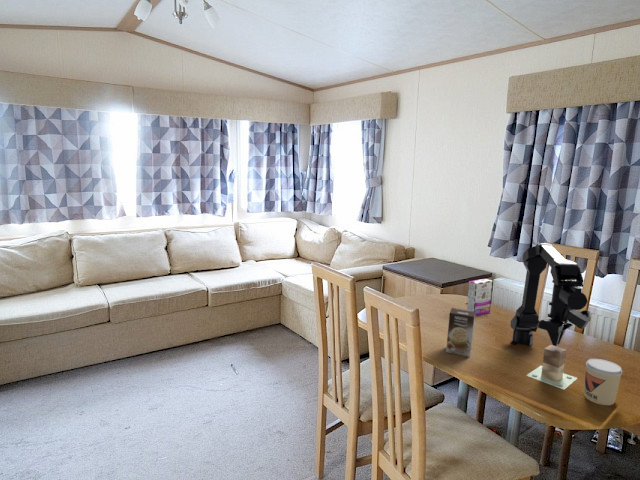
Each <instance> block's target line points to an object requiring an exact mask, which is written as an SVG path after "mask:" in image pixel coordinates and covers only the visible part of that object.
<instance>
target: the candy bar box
mask: <svg viewBox="0 0 640 480" xmlns="http://www.w3.org/2000/svg"><path fill="white" fill-rule="evenodd" d="M467 290H468V291H467V304H466V306H467V307H466V310H467V311H472V312H475V317H477V316H482V315H487V314H490V313H491V305H492V304H491V303H492V295H493V294H492V293H493V280H492V279H488V278H482V279H481V278H480V279H475V280H469V281H468V289H467Z"/></svg>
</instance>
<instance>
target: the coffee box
mask: <svg viewBox="0 0 640 480" xmlns="http://www.w3.org/2000/svg"><path fill="white" fill-rule="evenodd" d="M475 321H476V316H475V312H472V311H467V309H466V310H465V309H460V308H454V307H451V309H450V311H449V318H448V328H447V337H446V338H447V339H446V349H445V353H450V354H454V355H457V356H458V355H459V356H463V357H468V358H470V357H471V355H472V354H471V353H472V349H473V341H474V330H475V329H474V328H475Z"/></svg>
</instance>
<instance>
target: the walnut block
mask: <svg viewBox="0 0 640 480" xmlns="http://www.w3.org/2000/svg"><path fill="white" fill-rule="evenodd" d="M566 355H567V349H566V348H562V347H560V346H558V345H557V346H554V345H553V344H549V345H548V346H546V347H544V348H543V359H542V364H543V363H546V364H549V365H552V366H555V367H557V368H559V367H560V366H562V365H563V364H564V365H565V362H566Z"/></svg>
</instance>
